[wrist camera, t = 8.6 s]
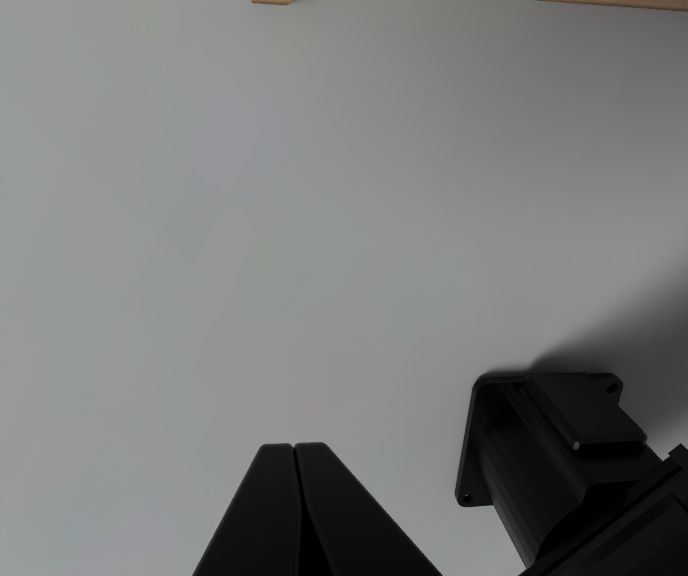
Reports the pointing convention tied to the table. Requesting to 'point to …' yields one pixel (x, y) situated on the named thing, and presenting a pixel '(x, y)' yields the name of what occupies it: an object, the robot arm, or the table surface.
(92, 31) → the table surface
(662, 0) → the rail
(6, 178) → the table surface
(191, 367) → the table surface
